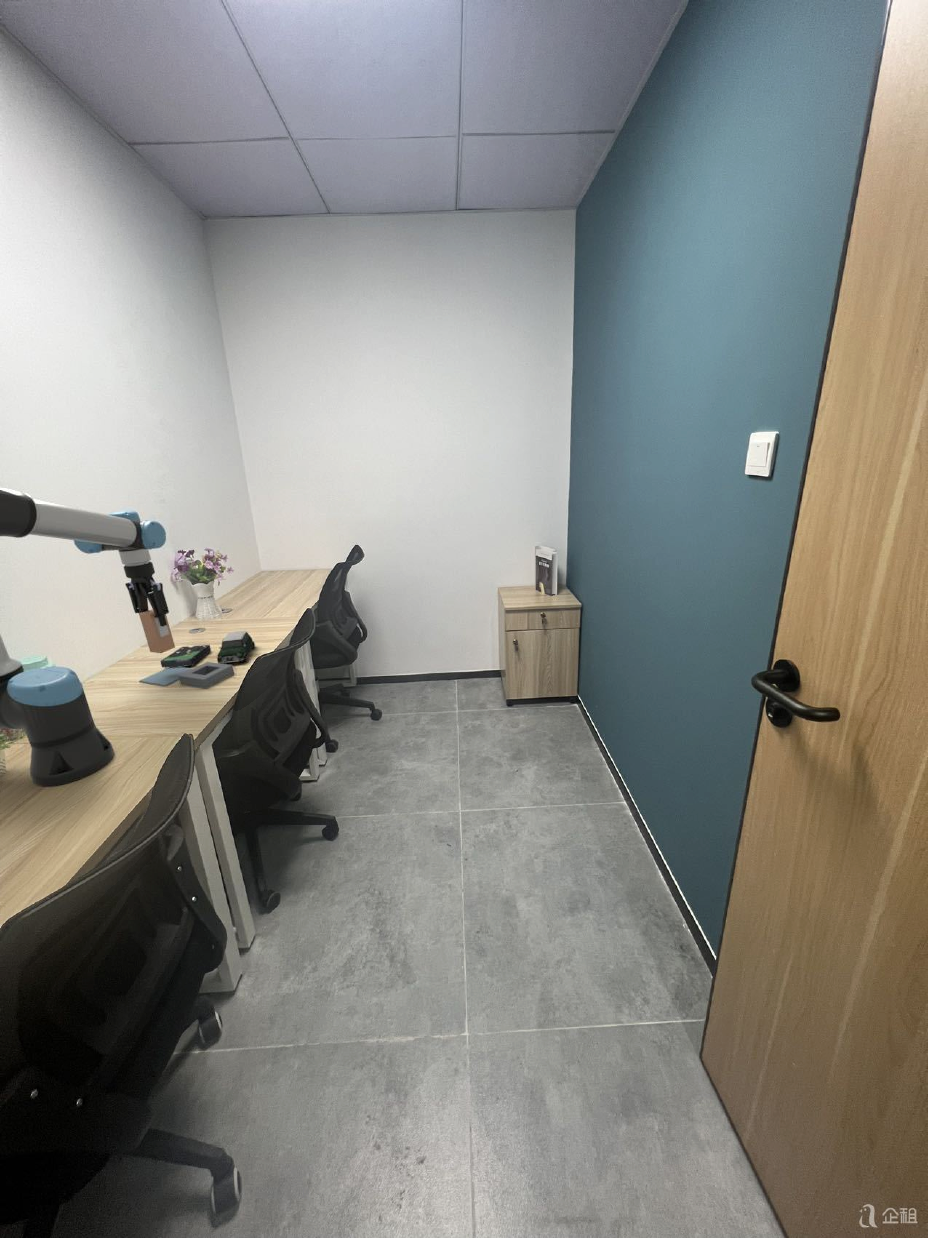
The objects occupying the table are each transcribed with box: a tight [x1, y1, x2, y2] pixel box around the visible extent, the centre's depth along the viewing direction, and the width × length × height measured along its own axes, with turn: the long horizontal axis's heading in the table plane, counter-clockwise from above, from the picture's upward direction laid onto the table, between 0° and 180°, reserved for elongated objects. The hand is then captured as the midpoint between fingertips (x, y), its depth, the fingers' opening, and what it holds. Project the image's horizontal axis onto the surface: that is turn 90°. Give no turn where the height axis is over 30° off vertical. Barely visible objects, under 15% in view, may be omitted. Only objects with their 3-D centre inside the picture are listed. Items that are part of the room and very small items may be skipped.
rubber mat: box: [138, 666, 192, 688], centre depth 159 cm, size 12×12×1 cm
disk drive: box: [160, 644, 212, 668], centre depth 171 cm, size 10×3×15 cm
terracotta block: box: [138, 608, 176, 654], centre depth 154 cm, size 5×5×13 cm
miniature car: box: [216, 630, 256, 664], centre depth 171 cm, size 9×18×8 cm, turn 11°
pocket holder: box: [178, 661, 235, 689], centre depth 155 cm, size 11×11×3 cm
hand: (158, 634), depth 154 cm, fingers closed on terracotta block, 5 cm apart
